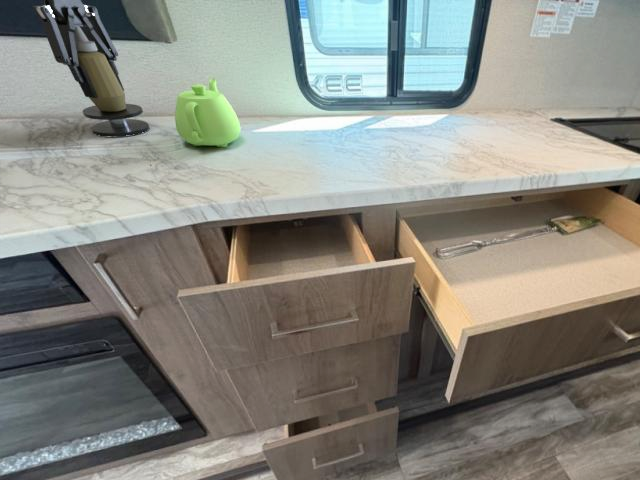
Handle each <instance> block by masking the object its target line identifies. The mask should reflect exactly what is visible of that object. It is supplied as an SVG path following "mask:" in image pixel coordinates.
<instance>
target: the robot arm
mask: <svg viewBox="0 0 640 480" xmlns="http://www.w3.org/2000/svg"><path fill="white" fill-rule="evenodd" d="M43 4H44V5H33V6H32V9H33V11H34V13H35V14H36V16H37V17H38V19H39V20H40V23H41V25H42V28H43V31H44V34H45V36H46V38H47V42H48V44H49V46H50V49H51V51H52V55H53V58H54V61H55V62H57V63H58V64H62V65H64V66H67V67H68V69H69V71H70V73H71V75H72V77H73V79H74V80H75V81H76V83H78V84H79V87H80V89H81V90H82V92H83V95H84V97H85V98H89V97H91V98H98V96H97V94H96V92H95V90H94V88H93V86H92V84H91V81H90V79H89V77H88V75H87V73H86V71H85V69H84V67H83V66H79V62H78V56H77V50H76V44H75V38H74V32H75V27H77V26H79V27H80V28H81V30H82V31H83V33H84V34H85V36H86V37H87V39H88V40H89V41H93V42H95V45H96V47H97V49H98V50H97V52H100V53H102V54H104V55H105V57H106V59H107V61H108V63H109V64H110V66H111V68H112V70H113V72H114V74H115V76H116V78H117V80H118V82H119V84H120V85H121V87H122V89H123V91H125V88H124V86H123V84H122V82H121V79H120V76H119V70H118V67H117V65H116V62H117V60H118V59H117V57H118V56H119V53H118V51H117V49H116V47H115V45H114V43H113V41H112V39H111V37H110V35H109V33H108V31H107V30H106V28H105V26H104V24H103V22H102V20H101V18H100V15H99V11H98V8H97V7H96V6H95V5H86V4H84V3H83V1H82V0H43Z"/></svg>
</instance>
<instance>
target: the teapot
mask: <svg viewBox="0 0 640 480" xmlns="http://www.w3.org/2000/svg"><path fill="white" fill-rule="evenodd" d="M208 86H209V87H208V88H209V89H206V85H204V84H201V83H196V84H191V85H190V87H191V89H190V90H185V91H182V92H180V93H179V94H178V95H177V98H176V103H175V109H174V110H175V111H174V123H175V128H176V131H177V134H178V136H180V137H181V138H182V139H183V140H184V141H185V142H187V143H188V144H191V145H192V147H193V146H194V147H201V146H216V147H217V148H226V147H228V144H230V143H232V142H234V141H236V140H237V139H238V137H239V135H240V134H241V130H242V129H241V122H240V120H239V118H238V115H237V113H236V111H235V110H234V108H233V107H232V105H231V104H230V102H229V101H228V99H227V98H226V97H225V96H224V94H223V93H222V92H221V91H219V90H218V87H217V80H216V78H215V77H211V78H210V79H209V82H208Z"/></svg>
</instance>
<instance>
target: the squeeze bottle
mask: <svg viewBox="0 0 640 480" xmlns="http://www.w3.org/2000/svg"><path fill="white" fill-rule="evenodd" d="M74 38H75V44H76V50H77V56H78V62H79V66H83V67H84V69H85V71H86V73H87V75H88V77H89V79H90V81H91V84H92V86H93V88H94V90H95V92H96V94H97V96H98V98H91V97H88V98H89V100H90V101H91V102H92V103H93V105H94V106H95V105H96V106H97V108H98V109H99V110H101V111H106V112H116V111H121V110H124V109H126V104H127V103H126V93H125V92H124V91H125V90H124V91H123V89H122V87H121V85H120V84H119V82H118V80H117V78H116V76H115V74H114V72H113V70H112V68H111V66H110V64H109V63H108V61H107V59H106V57H105V55H104V54H102V53H100V52H97V50H98V49H97V47H96V45H95V42H93V41H89V40H88V39H87V37H86V36H85V34H84V33H83V31H82V30H81V28H80V27H79V26H77V27H75V32H74Z"/></svg>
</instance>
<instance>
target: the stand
mask: <svg viewBox="0 0 640 480" xmlns="http://www.w3.org/2000/svg"><path fill="white" fill-rule="evenodd" d="M143 113H144V110H143V108H142V106H140V105H138V104H133V103H126V109H124V110H121V111H116V112H106V111H101V110H99V109H98V108H97V106H96V105H95V104H94V105H91V106H88V107H85V108H83V110H82V114H83V117H86V118H88V119H92V120H98V121H99V120H101V121H100V122H97V123H95V124H92V126H91V127H90V130H91V131H92V134H93V135H95V134H96V136H98V135H100V136H99V137H102V136H126V135H133V134H138V133H142V132H144V133H146V132H148V131H149V130H150V128H149V127H150V125H149V123H148V122H147V121H145V120H141V119H134V118H135V117H137V116H141V115H142V114H143ZM148 129H149V130H148ZM147 130H148V131H147ZM145 131H146V132H145ZM142 134H143V133H142ZM138 135H139V134H138Z"/></svg>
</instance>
